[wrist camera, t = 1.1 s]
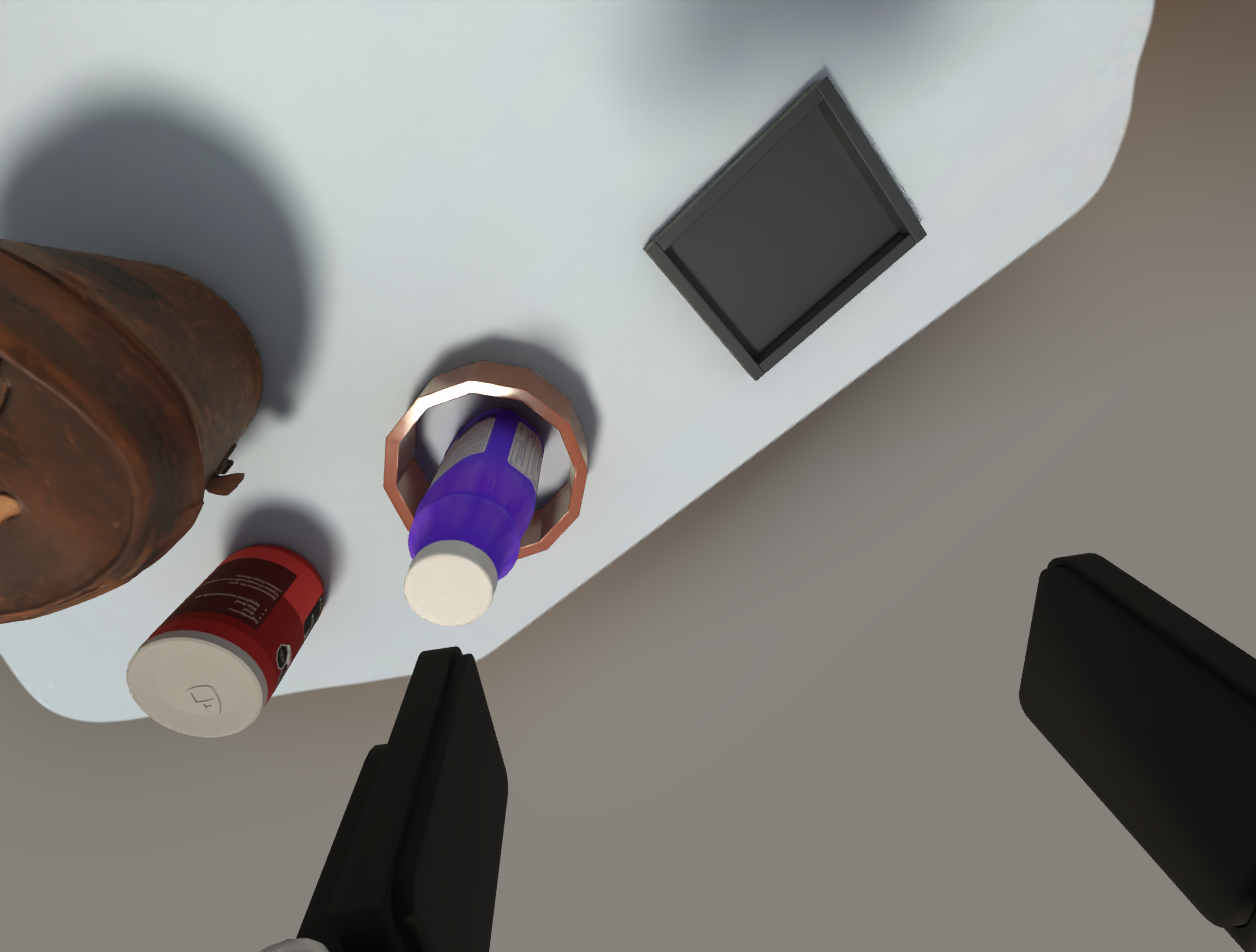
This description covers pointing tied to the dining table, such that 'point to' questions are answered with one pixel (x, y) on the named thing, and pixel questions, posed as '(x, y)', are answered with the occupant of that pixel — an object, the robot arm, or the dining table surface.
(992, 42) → the dining table surface
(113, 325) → the case
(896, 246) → the tray
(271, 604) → the canned food
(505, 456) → the bottle
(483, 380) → the terracotta faceted ring
